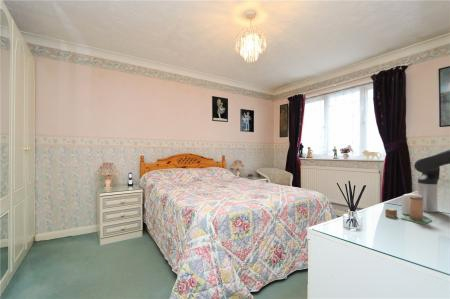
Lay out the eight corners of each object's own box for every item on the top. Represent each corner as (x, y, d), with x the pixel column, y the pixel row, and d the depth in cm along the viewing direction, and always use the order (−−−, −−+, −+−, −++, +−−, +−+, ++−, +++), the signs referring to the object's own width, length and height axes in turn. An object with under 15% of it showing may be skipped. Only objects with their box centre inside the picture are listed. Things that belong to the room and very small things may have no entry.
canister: (412, 216, 123) (412, 195, 123) (425, 219, 118) (425, 197, 118) (407, 218, 121) (407, 196, 120) (420, 221, 116) (420, 198, 115)
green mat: (408, 216, 126) (408, 215, 126) (431, 221, 118) (431, 220, 118) (400, 219, 121) (400, 218, 121) (423, 224, 113) (423, 223, 113)
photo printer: (418, 213, 132) (418, 193, 132) (424, 215, 128) (424, 194, 128) (400, 213, 133) (400, 192, 133) (405, 215, 129) (405, 194, 129)
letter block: (388, 215, 129) (388, 208, 129) (396, 217, 125) (396, 209, 125) (385, 216, 127) (385, 209, 127) (393, 218, 123) (393, 210, 124)
